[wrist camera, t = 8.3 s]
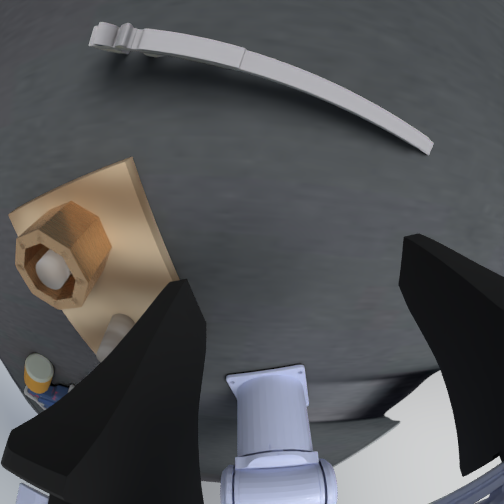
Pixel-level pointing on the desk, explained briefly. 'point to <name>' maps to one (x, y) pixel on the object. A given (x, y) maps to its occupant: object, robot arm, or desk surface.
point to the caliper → (251, 71)
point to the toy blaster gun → (42, 381)
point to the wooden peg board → (120, 258)
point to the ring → (64, 253)
